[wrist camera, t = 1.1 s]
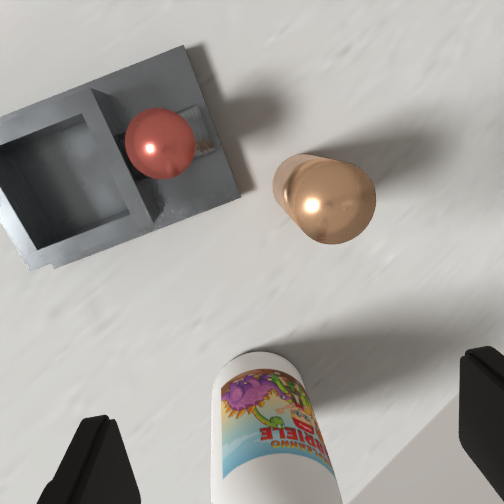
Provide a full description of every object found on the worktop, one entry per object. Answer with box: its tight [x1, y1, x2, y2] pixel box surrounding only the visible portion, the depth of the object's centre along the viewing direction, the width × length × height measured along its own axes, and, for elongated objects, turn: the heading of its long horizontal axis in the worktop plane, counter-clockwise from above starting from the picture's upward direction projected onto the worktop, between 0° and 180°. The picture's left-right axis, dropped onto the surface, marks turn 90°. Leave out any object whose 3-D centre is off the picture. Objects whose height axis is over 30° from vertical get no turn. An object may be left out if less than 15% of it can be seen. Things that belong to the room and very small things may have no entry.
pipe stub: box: [273, 154, 376, 244], centre depth 24 cm, size 4×4×8 cm
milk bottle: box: [211, 352, 343, 504], centre depth 23 cm, size 8×8×20 cm
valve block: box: [0, 45, 241, 271], centre depth 23 cm, size 14×10×6 cm
